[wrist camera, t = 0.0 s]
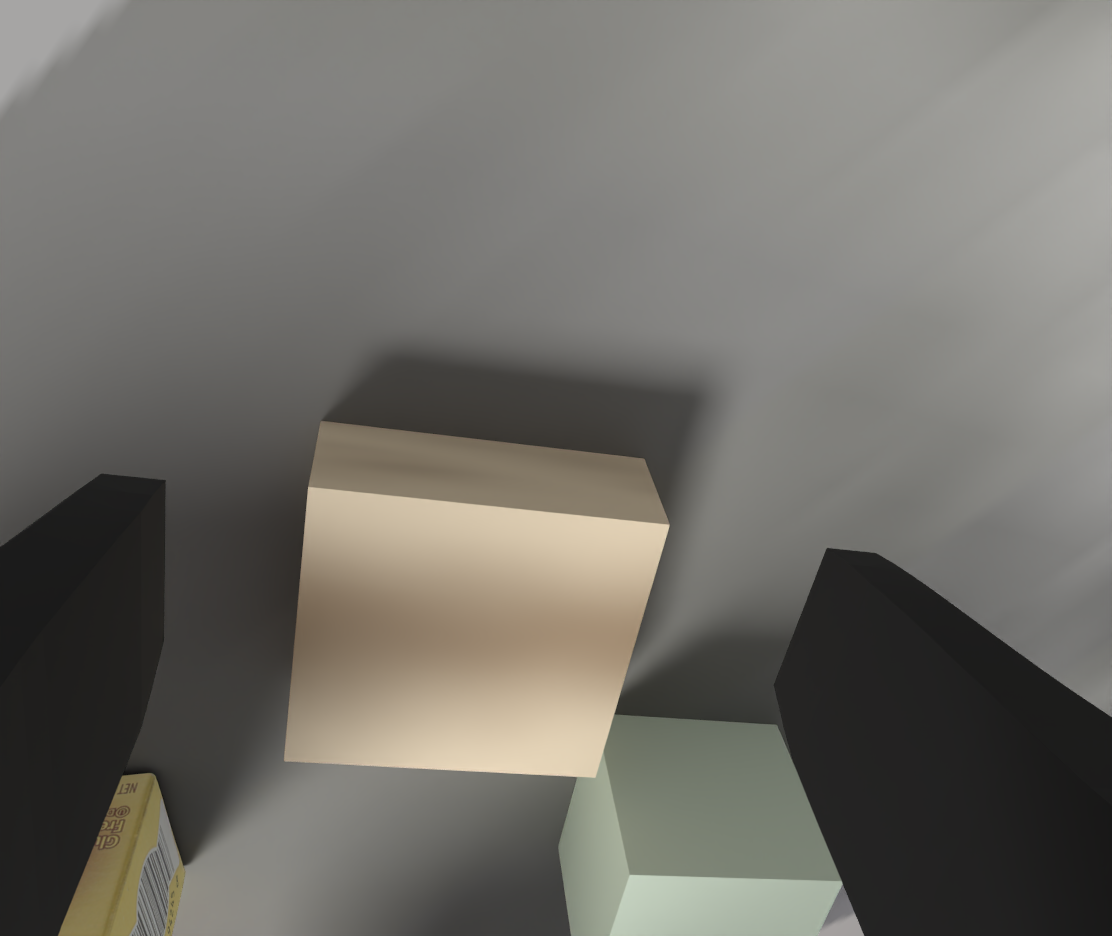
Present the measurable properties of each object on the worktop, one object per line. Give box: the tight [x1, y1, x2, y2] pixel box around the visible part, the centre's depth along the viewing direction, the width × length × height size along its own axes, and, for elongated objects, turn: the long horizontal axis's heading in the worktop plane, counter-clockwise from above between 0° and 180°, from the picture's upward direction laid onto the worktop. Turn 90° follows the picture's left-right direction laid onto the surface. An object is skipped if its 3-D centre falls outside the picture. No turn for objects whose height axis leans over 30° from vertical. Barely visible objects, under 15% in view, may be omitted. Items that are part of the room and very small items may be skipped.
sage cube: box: [558, 715, 843, 936], centre depth 25 cm, size 5×5×5 cm
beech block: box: [284, 421, 670, 778], centre depth 22 cm, size 7×7×3 cm
